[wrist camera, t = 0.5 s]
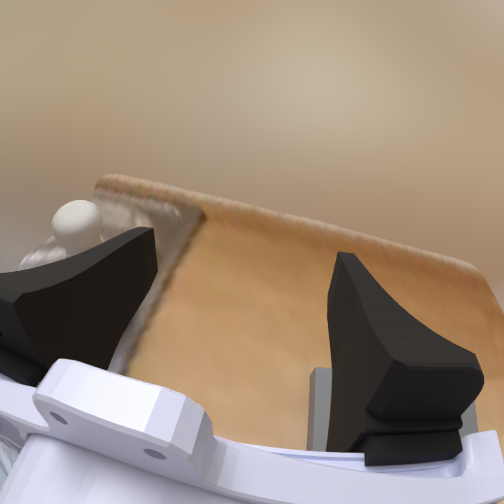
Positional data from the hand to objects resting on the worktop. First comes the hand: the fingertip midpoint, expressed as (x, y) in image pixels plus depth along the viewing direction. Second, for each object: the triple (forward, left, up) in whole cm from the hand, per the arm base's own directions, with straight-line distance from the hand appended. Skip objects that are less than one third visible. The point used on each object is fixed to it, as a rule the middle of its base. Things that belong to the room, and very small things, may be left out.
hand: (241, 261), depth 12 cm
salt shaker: (+7, +14, -19) cm, 25 cm away
